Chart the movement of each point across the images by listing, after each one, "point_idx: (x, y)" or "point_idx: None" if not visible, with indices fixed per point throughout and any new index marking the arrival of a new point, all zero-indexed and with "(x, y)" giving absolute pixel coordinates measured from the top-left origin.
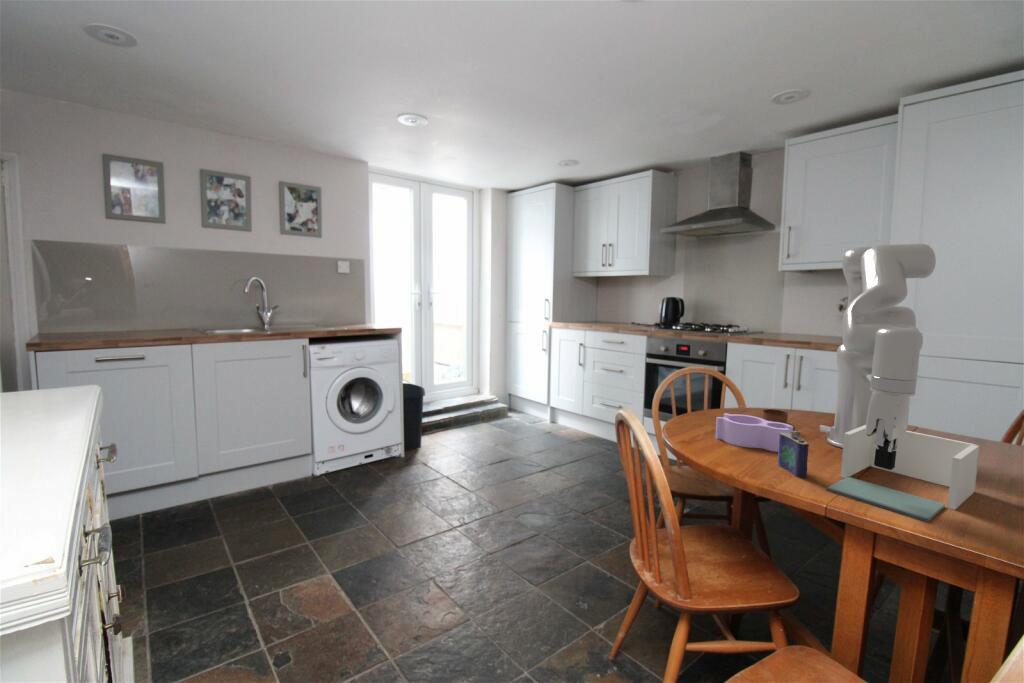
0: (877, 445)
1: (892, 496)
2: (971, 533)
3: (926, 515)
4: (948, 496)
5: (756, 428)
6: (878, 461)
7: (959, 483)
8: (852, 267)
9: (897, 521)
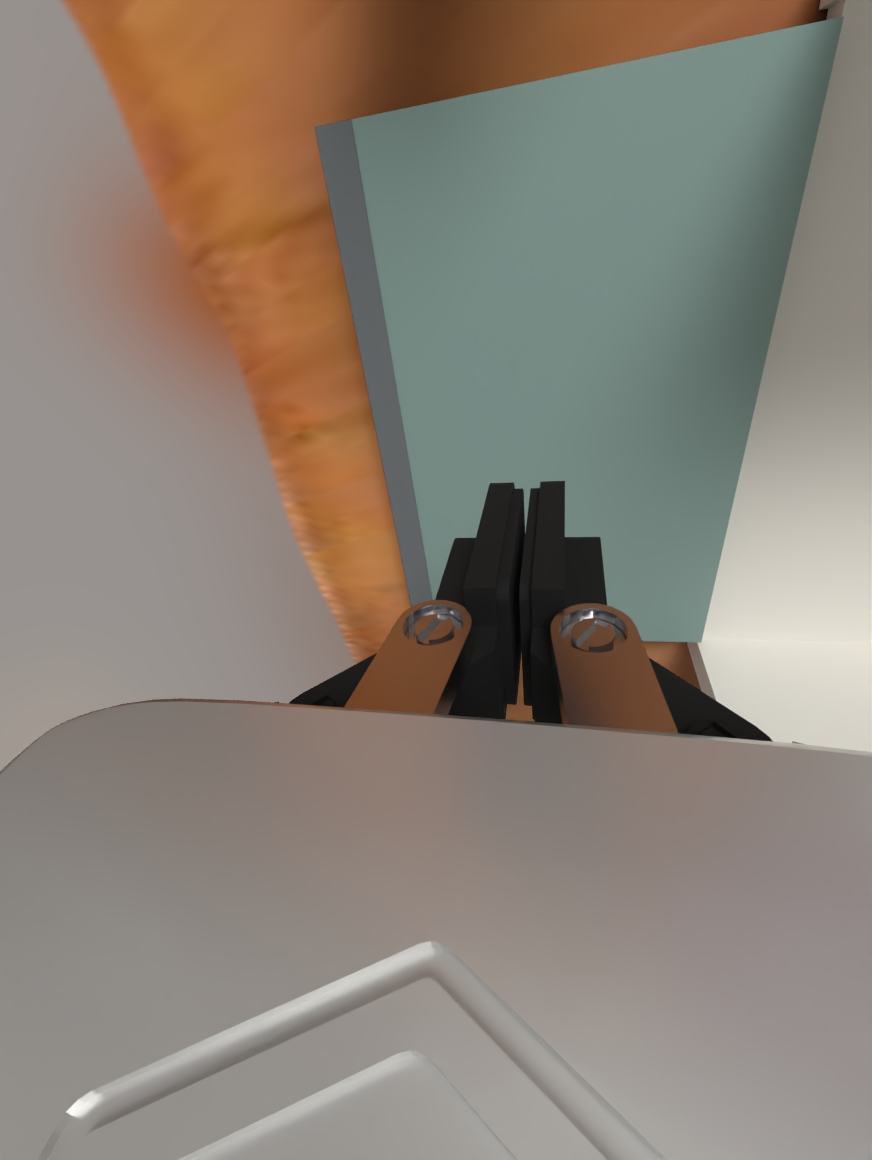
0: (332, 677)
1: (585, 475)
2: (517, 696)
3: None
4: (710, 683)
5: None
6: (451, 548)
7: None
8: None
9: (371, 542)
